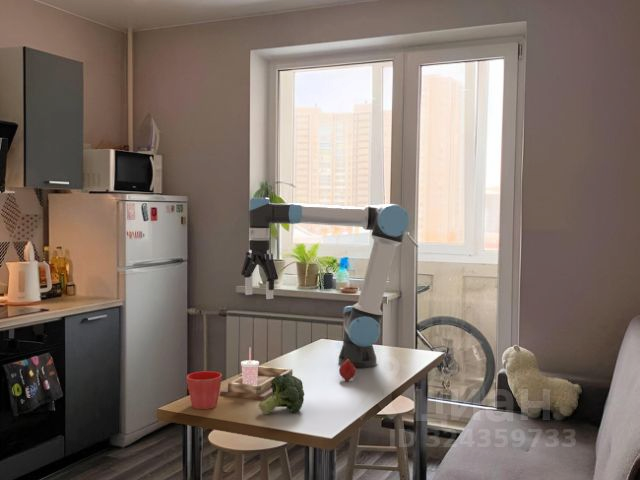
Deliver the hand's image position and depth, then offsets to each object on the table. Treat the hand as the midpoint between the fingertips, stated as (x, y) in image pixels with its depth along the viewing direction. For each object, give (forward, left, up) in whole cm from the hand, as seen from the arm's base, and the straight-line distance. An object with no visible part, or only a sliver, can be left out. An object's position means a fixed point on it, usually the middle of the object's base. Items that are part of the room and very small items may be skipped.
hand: (259, 296), depth 246 cm
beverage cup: (-8, +24, -28) cm, 37 cm away
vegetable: (-26, +39, -29) cm, 55 cm away
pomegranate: (-34, -2, -29) cm, 45 cm away
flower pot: (-1, +42, -29) cm, 51 cm away
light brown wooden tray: (-8, +17, -29) cm, 34 cm away
